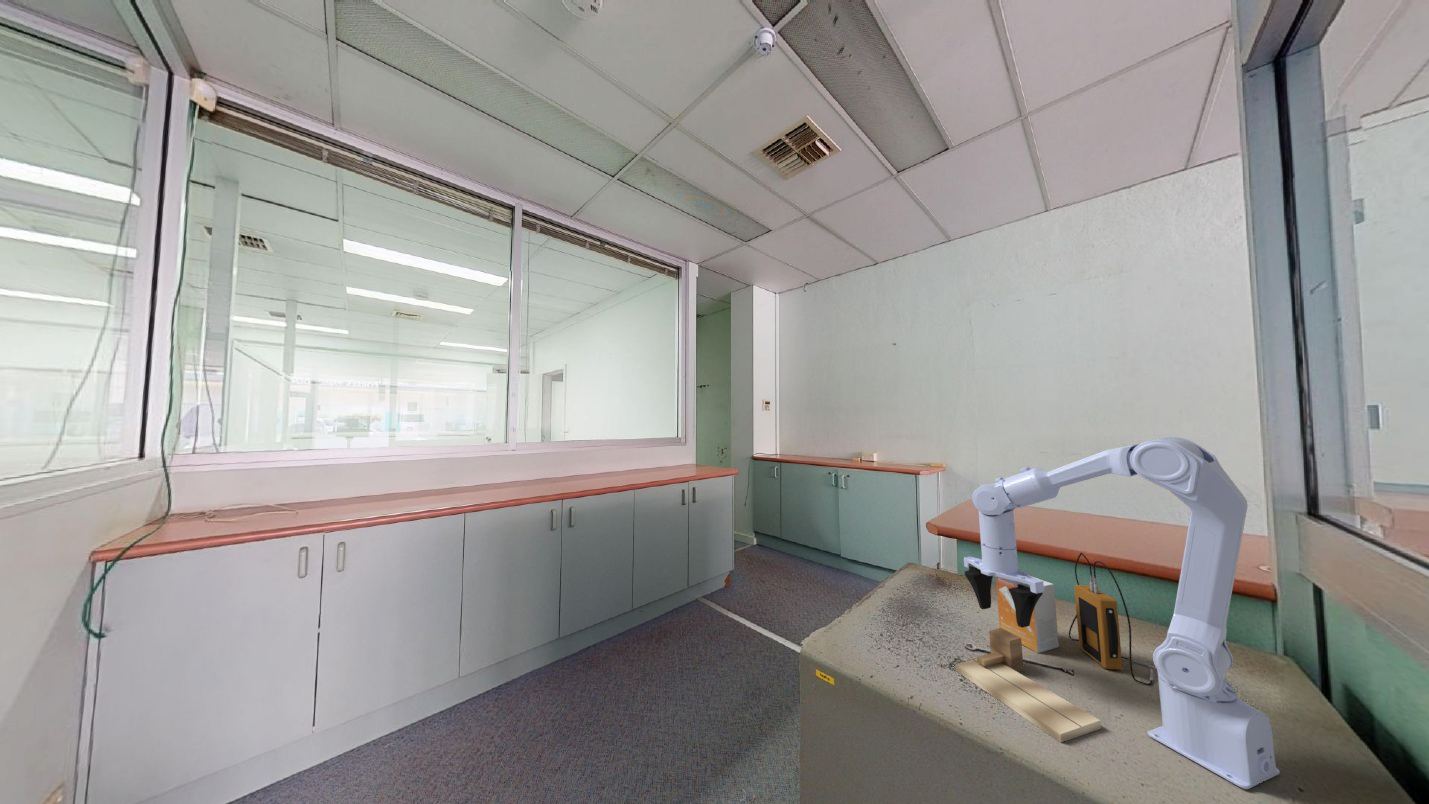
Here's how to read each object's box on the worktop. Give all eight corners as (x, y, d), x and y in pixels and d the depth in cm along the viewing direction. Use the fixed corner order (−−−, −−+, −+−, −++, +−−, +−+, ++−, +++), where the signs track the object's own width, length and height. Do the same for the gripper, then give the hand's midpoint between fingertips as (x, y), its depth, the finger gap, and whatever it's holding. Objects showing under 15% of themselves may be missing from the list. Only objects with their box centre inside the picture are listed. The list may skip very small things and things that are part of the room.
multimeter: (1190, 689, 68) (1178, 571, 69) (1121, 683, 70) (1111, 569, 71) (1121, 643, 83) (1112, 545, 84) (1066, 639, 85) (1058, 544, 86)
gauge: (1023, 670, 75) (1021, 638, 75) (991, 679, 72) (989, 646, 73) (1002, 659, 79) (1000, 627, 79) (971, 667, 76) (969, 635, 77)
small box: (999, 634, 87) (994, 574, 88) (1019, 629, 89) (1015, 570, 90) (1038, 654, 80) (1033, 588, 80) (1060, 648, 82) (1055, 583, 82)
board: (1100, 728, 60) (1100, 720, 60) (1061, 742, 58) (1060, 733, 58) (989, 661, 78) (989, 655, 78) (955, 670, 75) (955, 664, 75)
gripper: (950, 537, 83) (955, 603, 83) (1020, 559, 70) (1027, 639, 69) (976, 534, 85) (981, 598, 85) (1049, 554, 71) (1056, 632, 71)
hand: (1003, 616), depth 77 cm, fingers open, 7 cm apart
